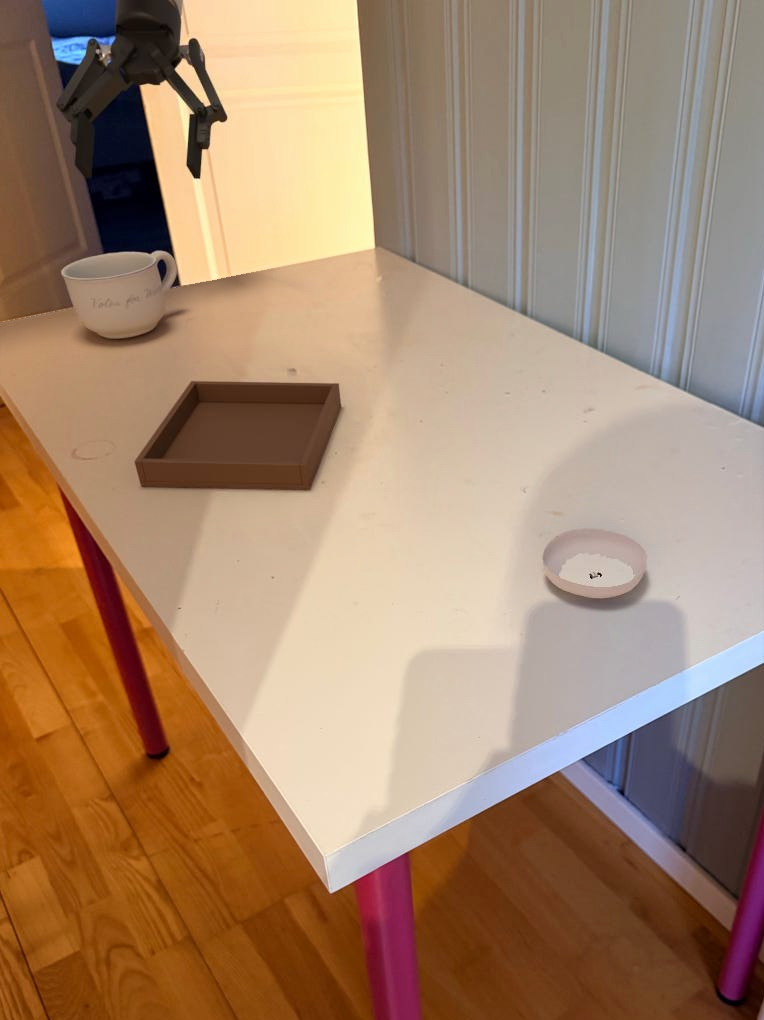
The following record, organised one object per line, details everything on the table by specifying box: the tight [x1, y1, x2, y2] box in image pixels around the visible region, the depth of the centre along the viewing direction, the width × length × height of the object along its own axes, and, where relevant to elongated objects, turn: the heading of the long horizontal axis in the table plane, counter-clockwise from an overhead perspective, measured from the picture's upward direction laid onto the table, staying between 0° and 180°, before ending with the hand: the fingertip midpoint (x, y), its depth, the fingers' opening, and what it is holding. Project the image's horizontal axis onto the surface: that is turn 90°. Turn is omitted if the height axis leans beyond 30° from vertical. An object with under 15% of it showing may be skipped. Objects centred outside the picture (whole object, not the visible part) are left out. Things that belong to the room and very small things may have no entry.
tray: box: [134, 380, 342, 491], centre depth 87 cm, size 15×17×2 cm
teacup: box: [60, 250, 178, 340], centre depth 109 cm, size 14×11×8 cm
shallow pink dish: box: [542, 528, 648, 599], centre depth 70 cm, size 8×8×2 cm
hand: (138, 172), depth 110 cm, fingers open, 13 cm apart
